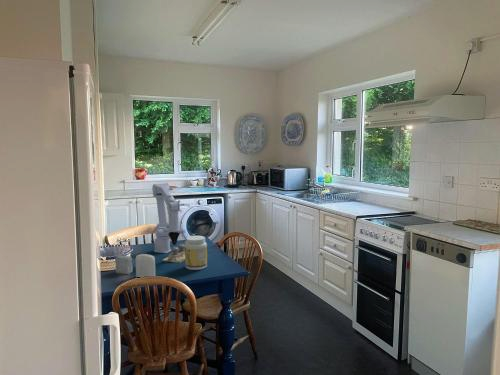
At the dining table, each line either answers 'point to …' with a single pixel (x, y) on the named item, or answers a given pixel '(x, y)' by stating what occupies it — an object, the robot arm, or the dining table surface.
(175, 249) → the plug
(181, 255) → the board
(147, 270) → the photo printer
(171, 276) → the dining table surface
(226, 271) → the dining table surface
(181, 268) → the dining table surface
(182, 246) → the grey ball
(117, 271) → the medicine box
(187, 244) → the supplement tub
